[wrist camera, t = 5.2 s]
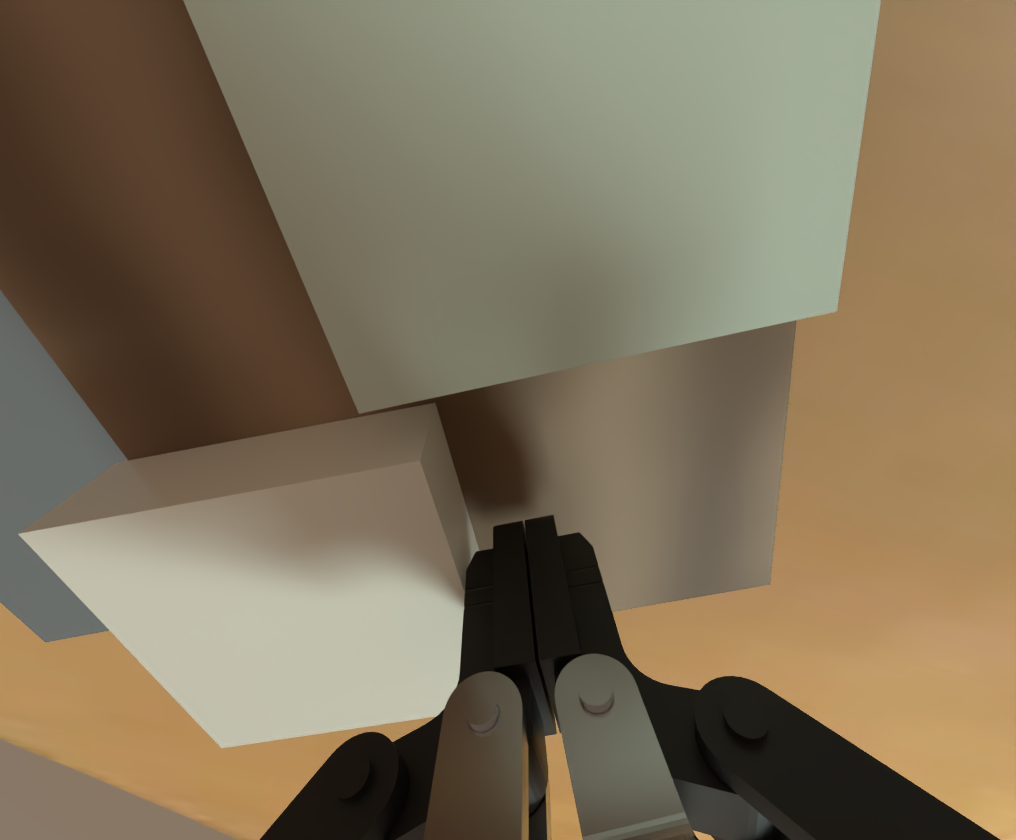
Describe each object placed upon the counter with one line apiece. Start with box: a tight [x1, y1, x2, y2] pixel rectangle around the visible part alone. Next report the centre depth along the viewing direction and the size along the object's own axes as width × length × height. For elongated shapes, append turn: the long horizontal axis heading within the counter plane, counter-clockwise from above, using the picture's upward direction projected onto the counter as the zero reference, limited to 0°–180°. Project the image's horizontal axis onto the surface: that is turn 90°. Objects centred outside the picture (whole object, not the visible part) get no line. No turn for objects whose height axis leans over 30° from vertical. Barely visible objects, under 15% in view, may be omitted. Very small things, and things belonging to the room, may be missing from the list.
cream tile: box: [18, 403, 479, 748], centre depth 11 cm, size 8×8×2 cm
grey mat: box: [0, 290, 128, 642], centre depth 15 cm, size 12×15×1 cm
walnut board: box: [0, 0, 796, 612], centre depth 12 cm, size 16×18×4 cm
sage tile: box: [183, 0, 881, 414], centre depth 6 cm, size 8×8×2 cm
